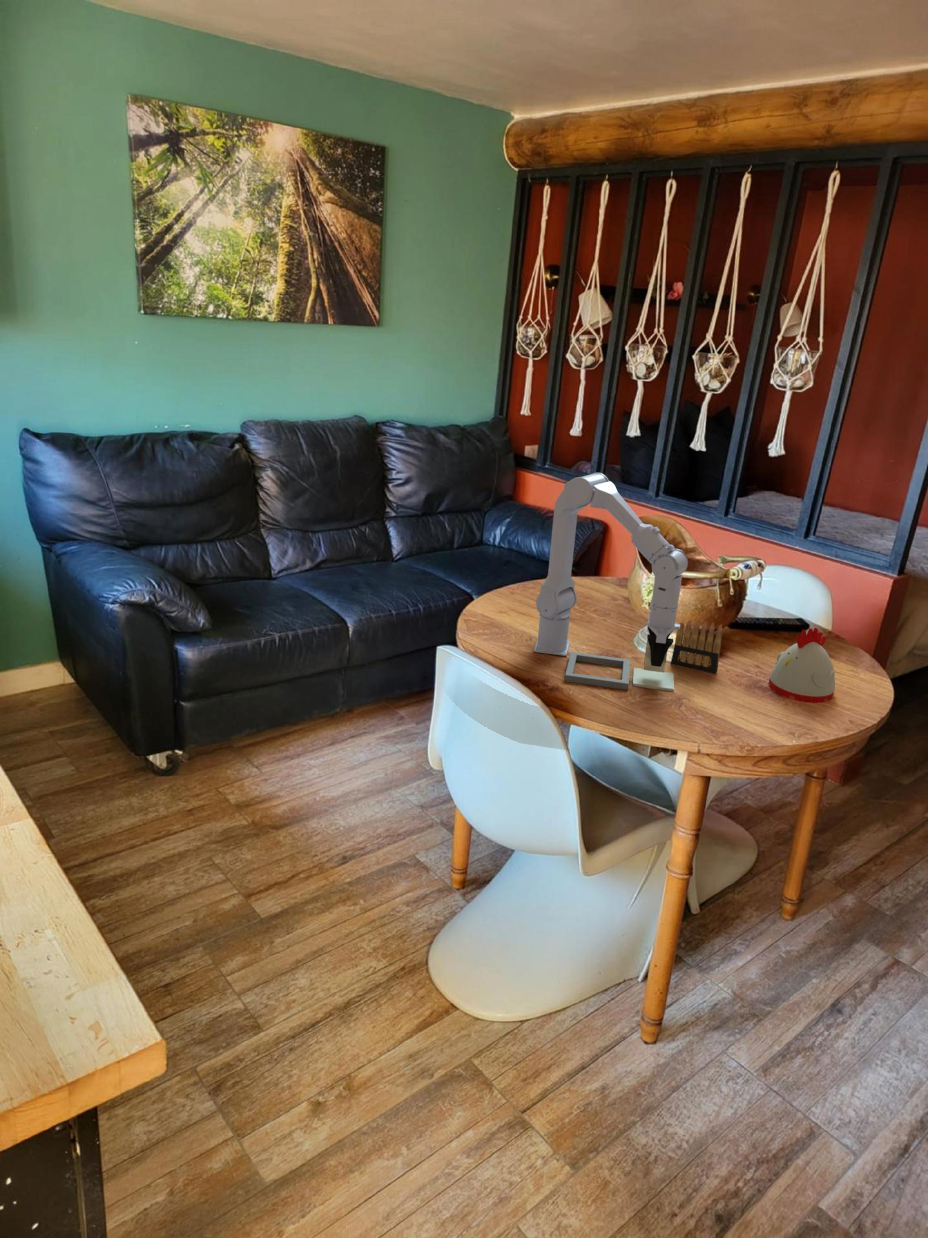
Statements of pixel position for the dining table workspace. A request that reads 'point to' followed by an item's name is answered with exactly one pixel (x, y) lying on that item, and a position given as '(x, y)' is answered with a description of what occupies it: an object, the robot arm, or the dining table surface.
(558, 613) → the robot arm
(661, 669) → the maple block
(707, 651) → the ammunition clip
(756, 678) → the dining table surface
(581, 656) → the frame
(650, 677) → the green pad
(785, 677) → the kitchen timer
